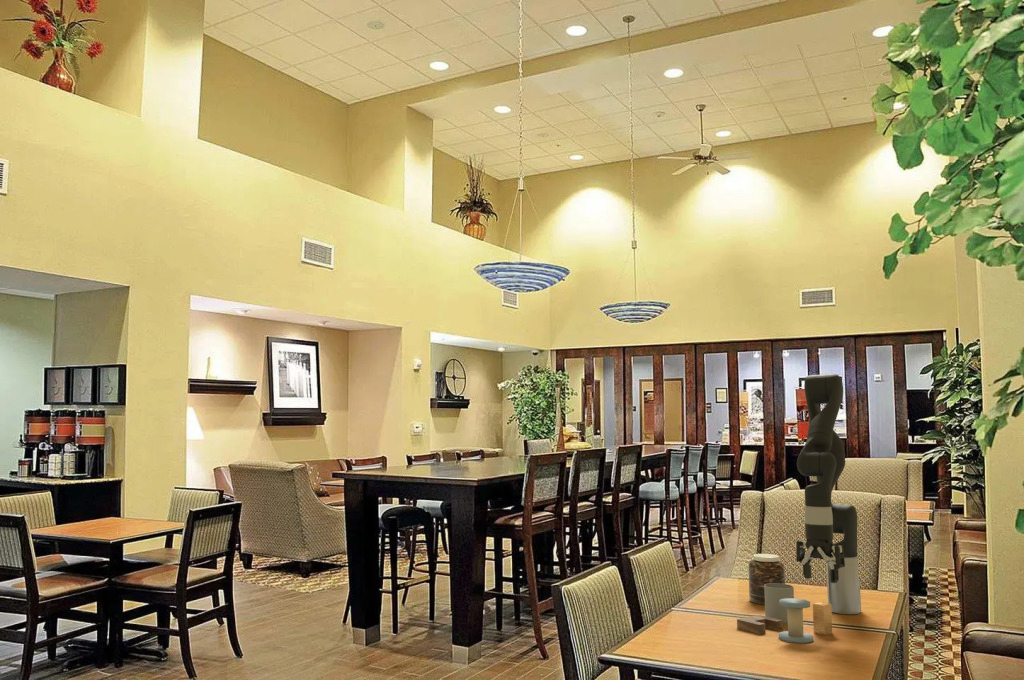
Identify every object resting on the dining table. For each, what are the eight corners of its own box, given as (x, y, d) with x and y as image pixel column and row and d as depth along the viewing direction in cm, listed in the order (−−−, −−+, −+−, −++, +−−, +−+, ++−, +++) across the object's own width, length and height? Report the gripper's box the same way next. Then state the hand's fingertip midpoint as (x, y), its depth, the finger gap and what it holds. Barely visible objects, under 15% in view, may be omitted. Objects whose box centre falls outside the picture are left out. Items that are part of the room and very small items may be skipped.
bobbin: (792, 633, 230) (791, 596, 231) (820, 640, 222) (819, 602, 223) (771, 637, 225) (770, 600, 226) (799, 645, 217) (798, 606, 218)
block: (821, 630, 233) (820, 602, 233) (832, 633, 230) (831, 604, 231) (813, 632, 231) (812, 603, 231) (824, 635, 228) (823, 605, 229)
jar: (790, 600, 273) (788, 554, 275) (781, 607, 263) (779, 559, 265) (754, 596, 280) (753, 551, 281) (744, 602, 270) (743, 556, 271)
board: (760, 623, 241) (759, 615, 241) (782, 629, 234) (782, 620, 235) (737, 628, 235) (736, 619, 236) (759, 634, 229) (759, 624, 229)
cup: (796, 623, 241) (795, 589, 242) (767, 622, 243) (766, 587, 244) (792, 617, 249) (791, 583, 250) (764, 616, 251) (763, 582, 252)
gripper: (848, 523, 230) (851, 583, 228) (805, 519, 241) (807, 575, 240) (832, 525, 226) (834, 585, 224) (789, 520, 237) (791, 577, 235)
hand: (820, 580), depth 232 cm, fingers open, 8 cm apart
